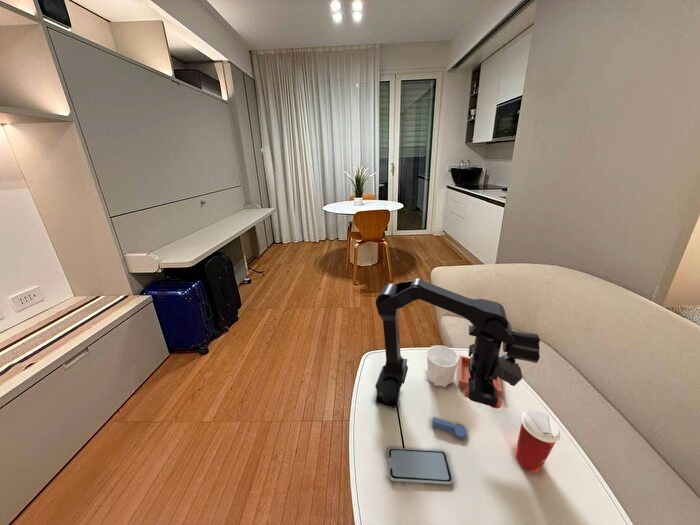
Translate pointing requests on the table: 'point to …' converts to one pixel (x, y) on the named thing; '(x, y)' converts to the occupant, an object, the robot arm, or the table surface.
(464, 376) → the terracotta tray
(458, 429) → the blue spoon
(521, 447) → the paper cup
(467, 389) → the red spoon
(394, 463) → the smartphone
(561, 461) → the table surface
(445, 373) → the cup
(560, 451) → the table surface
